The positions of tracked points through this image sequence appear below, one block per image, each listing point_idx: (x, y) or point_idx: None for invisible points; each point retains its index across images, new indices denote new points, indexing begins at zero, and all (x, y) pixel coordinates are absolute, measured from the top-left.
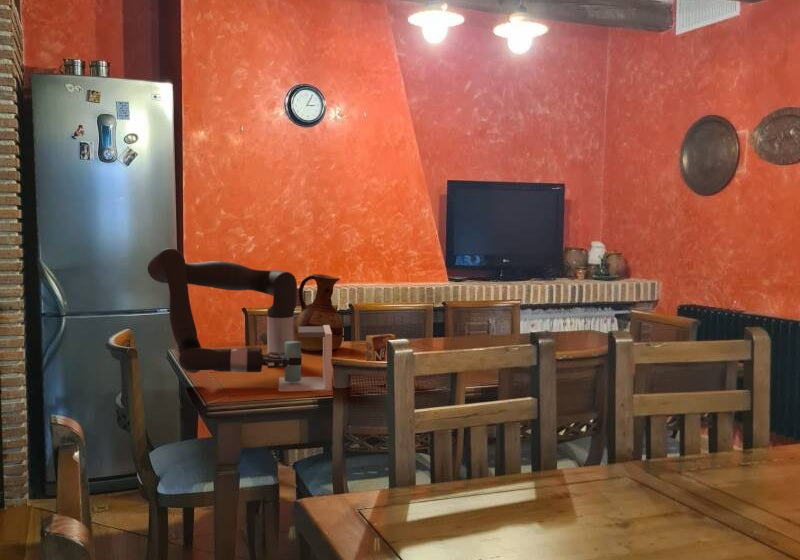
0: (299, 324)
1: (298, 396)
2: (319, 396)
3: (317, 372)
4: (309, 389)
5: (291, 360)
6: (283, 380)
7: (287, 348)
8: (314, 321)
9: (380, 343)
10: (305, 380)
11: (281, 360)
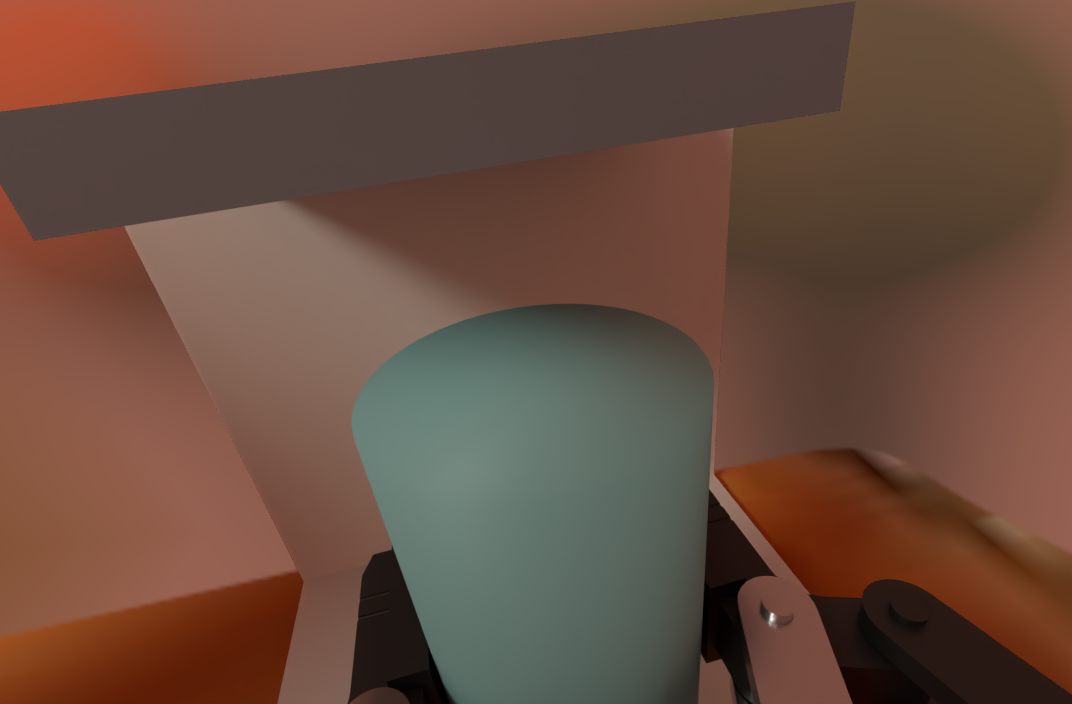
0: None
1: (1017, 592)
2: (882, 471)
3: (48, 688)
4: (775, 556)
5: (758, 563)
6: None
7: (705, 501)
8: None
9: None
10: None
11: (1020, 673)
